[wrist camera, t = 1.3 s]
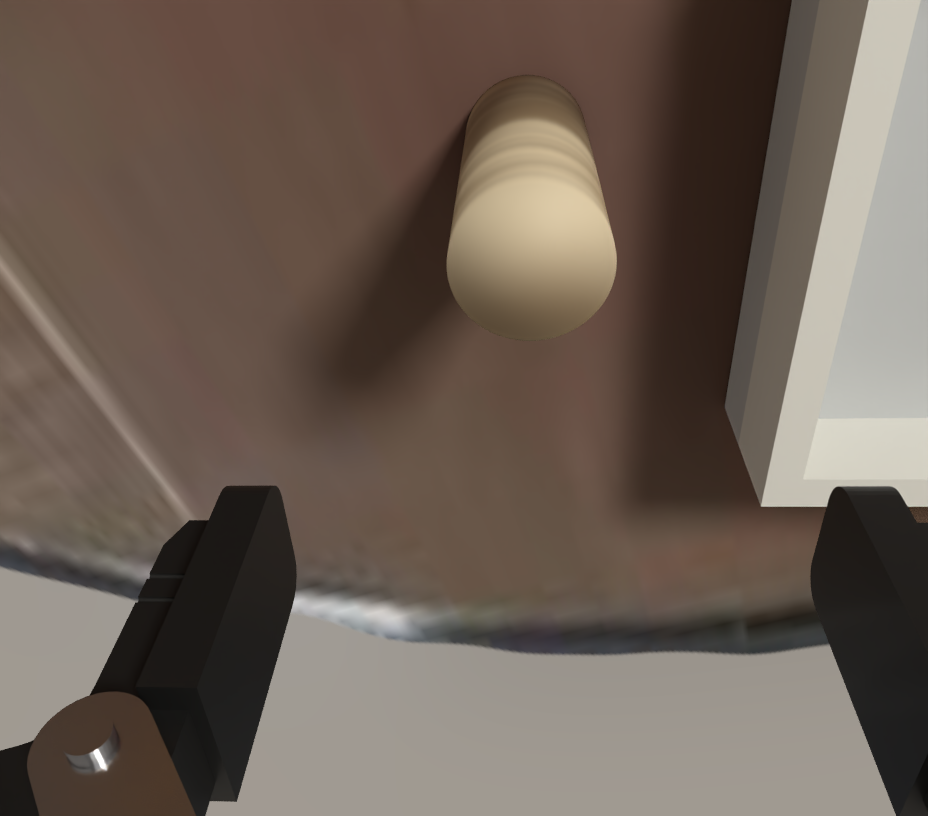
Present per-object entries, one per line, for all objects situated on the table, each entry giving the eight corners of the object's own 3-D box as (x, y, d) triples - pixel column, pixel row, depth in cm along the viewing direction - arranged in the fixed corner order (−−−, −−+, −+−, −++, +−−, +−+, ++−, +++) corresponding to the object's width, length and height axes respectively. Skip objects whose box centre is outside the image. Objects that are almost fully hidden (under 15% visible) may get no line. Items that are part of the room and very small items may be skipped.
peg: (463, 77, 27) (442, 186, 19) (588, 73, 27) (622, 183, 19) (468, 197, 29) (450, 341, 21) (583, 194, 29) (611, 339, 21)
